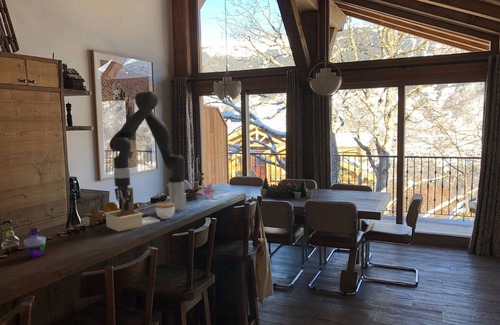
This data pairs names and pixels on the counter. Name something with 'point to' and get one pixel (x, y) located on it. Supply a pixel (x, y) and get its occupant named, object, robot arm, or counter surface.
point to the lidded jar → (165, 209)
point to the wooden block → (131, 206)
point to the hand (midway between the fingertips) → (124, 209)
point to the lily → (207, 191)
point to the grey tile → (149, 220)
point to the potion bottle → (35, 243)
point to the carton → (123, 220)
